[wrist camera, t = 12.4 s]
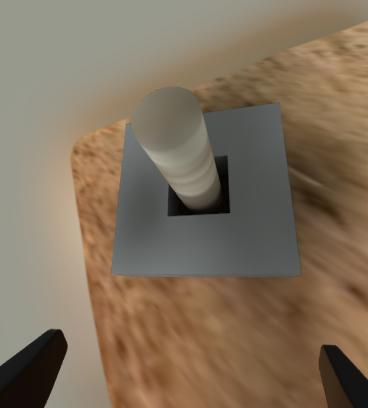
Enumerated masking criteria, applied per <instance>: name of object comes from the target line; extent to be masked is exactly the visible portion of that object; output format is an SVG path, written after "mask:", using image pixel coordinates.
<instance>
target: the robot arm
mask: <svg viewBox="0 0 368 408" xmlns="http://www.w3.org/2000/svg"><path fill="white" fill-rule="evenodd" d="M67 347H68V345H67V341H66V339H65V337H64V334H63V332H62V331H61V330H60V329H50V330H48V331H46V332H45V333H44V334H42V335H41V336H40V337H38V338H37V339H36V340H34V341H33V342H32V343H30V344H29V345H28V346H26V347H25V348H24V349H22V350H21V351H20V352H18V353H17V354H16V355H14V356H13V357H12V358H10V359H9V360H8V361H6V362H5V363H4V364H3V365H1V366H0V408H44V407H45V404H46V402H47V400H48V398H49V396H50V393H51V391H52V389H53V386H54V383H55V381H56V378H57V375H58V373H59V370H60V368H61V365H62V362H63V360H64V357H65V355H66V352H67ZM319 370H320V374H321V378H322V383H323V387H324V391H325V395H326V400H327V404H328V408H368V379H367V378H366V377H365V376H364V375H363V374H362V373H361V372H360V370H359V369H358V368H357V367H356V366H355V365H354V364H353V363H352V362H351V361H350V360H349V358H348V357H347V356H346V355H345V354H344V353H343V352H342V351H341V350H340V349H339V348H338V347H337V346H335V345H322V346H321V350H320V357H319Z"/></svg>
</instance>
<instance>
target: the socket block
mask: <svg viewBox="0 0 368 408" xmlns="http://www.w3.org/2000/svg"><path fill="white" fill-rule="evenodd" d="M202 114H203V118H204V122H205V125H206V129H207V133H208V137H209V141H210V145H211V149H212V153H213V157H214V161H215V165H216V169H217V173H218V176H229V198H230V213H227V214H208V215H188V216H180V198H179V197H178V195H177V194H176V192H175V191H174V190H173V188H172V187H171V186H170V184H169V183H168V181H167V180H166V179H165V177H164V176H163V175H162V173H161V172H160V171H159V169H158V168H157V166H156V165H155V164H154V162H153V161H152V160H151V158H150V157H149V155H148V154H147V153H146V151H145V150H144V149H143V147H142V146H141V145H140V143H139V142H138V140H137V139H136V138H135V136H134V134H133V132H132V128H131V123H129V124H126V129H125V139H124V149H123V159H122V169H121V179H120V189H119V198H118V208H117V218H116V228H115V238H114V248H113V258H112V267H111V274H113V275H121V276H129V277H295V276H298V275H301V268H300V260H299V253H298V245H297V237H296V229H295V221H294V213H293V206H292V198H291V190H290V182H289V174H288V166H287V158H286V151H285V143H284V135H283V127H282V119H281V111H280V104H279V103H272V104H265V105H258V106H251V107H243V108H236V109H229V110H222V111H215V112H208V113H202Z"/></svg>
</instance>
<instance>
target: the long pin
mask: <svg viewBox="0 0 368 408" xmlns="http://www.w3.org/2000/svg"><path fill="white" fill-rule="evenodd" d="M131 128H132V132H133V134H134V136H135V138H136V139H137V140H138V142H139V143H140V145H141V146H142V147H143V149H144V150H145V151H146V153H147V154H148V155H149V157H150V158H151V160H152V161H153V162H154V164H155V165H156V166H157V168H158V169H159V171H160V172H161V173H162V175H163V176H164V177H165V179H166V180H167V181H168V183H169V184H170V186H171V187H172V188H173V190H174V191H175V192H176V194H177V195H178V197H179V198H180V199H181V201H182V202H183V203H184V205H185V206H186V207H187V209H188V210H189V212H190V213H191V214H192V215H208V214H219V213H220V212H221V210H222V208H223V206H224V196H223V192H222V188H221V184H220V181H219V177H218V173H217V169H216V165H215V161H214V157H213V153H212V149H211V145H210V141H209V137H208V133H207V129H206V125H205V122H204V118H203V114H202V110H201V106H200V103H199V100H198V99H197V97H196V96H195V95H194V94H193V93H192V92H190V91H189V90H187V89H184V88H181V87H165V88H161V89H158V90H156V91H154V92H152V93H150V94H149V95H147V96H146V97H145V98H144V99H142V101H141V102H140V103H139V104H138V105H137V107H136V109H135V110H134V113H133V116H132V120H131Z"/></svg>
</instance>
